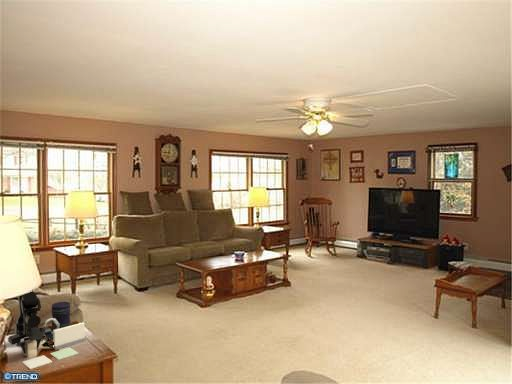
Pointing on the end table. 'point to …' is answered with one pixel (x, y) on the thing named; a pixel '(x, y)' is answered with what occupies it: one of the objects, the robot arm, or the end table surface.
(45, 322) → the watch
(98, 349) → the end table surface
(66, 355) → the sage mat
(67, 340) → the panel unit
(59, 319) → the storage jar
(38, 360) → the cream mat
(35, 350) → the block
